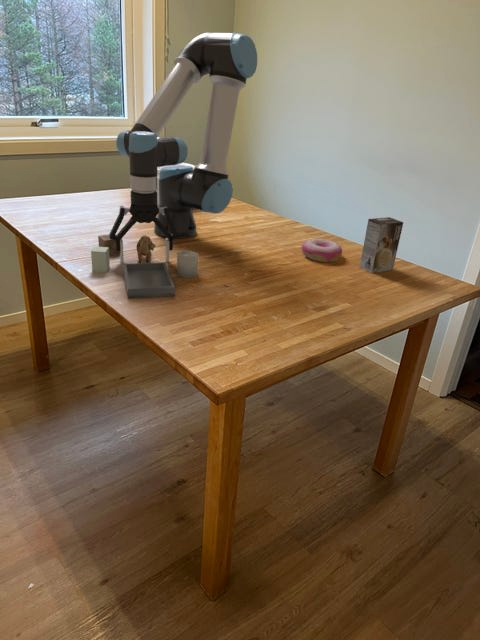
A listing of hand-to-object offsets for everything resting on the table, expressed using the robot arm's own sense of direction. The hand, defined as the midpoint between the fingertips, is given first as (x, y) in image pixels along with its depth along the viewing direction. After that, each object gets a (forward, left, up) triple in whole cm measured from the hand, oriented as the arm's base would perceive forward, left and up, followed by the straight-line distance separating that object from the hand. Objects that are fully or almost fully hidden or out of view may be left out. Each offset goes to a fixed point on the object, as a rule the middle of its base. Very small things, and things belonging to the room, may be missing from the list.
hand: (145, 260), depth 146 cm
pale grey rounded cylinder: (-11, +11, 0) cm, 16 cm away
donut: (-59, 0, -1) cm, 59 cm away
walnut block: (+10, -9, 0) cm, 13 cm away
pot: (-18, -70, 0) cm, 72 cm away
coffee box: (-73, +12, 0) cm, 74 cm away
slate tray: (+1, +17, 0) cm, 17 cm away
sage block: (+13, +5, 0) cm, 14 cm away
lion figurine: (0, -1, 0) cm, 1 cm away
